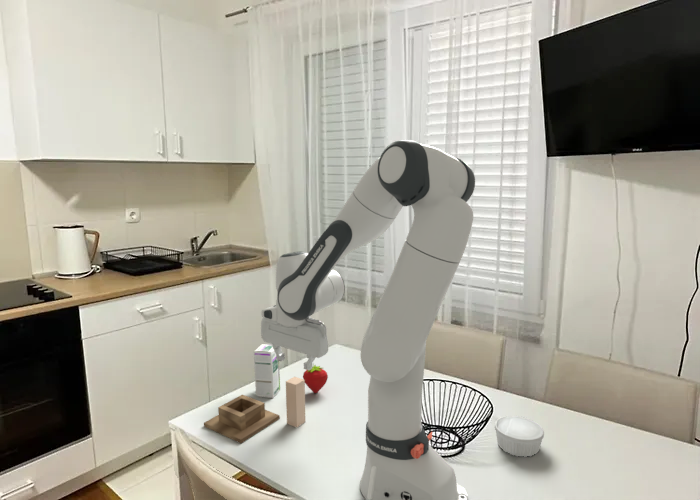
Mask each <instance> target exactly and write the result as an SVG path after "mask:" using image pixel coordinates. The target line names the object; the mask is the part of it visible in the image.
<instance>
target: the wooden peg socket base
mask: <svg viewBox="0 0 700 500" xmlns="http://www.w3.org/2000/svg"><path fill="white" fill-rule="evenodd" d="M265 407H266V405H265V402H262V400H257V399H255V398H252V397H251V396H247V395H244V394H241V395H239V396H236V397H235V398H233V399H231V400H229V401H228V402H226V403H224V404H222V405H220V406H218V407H217V408H218V409H217V410H218V415H215V416H213V417H212V418H210V419H208V420H207V421H205V422H203V427H204V428H206V429H209V430H211V431H213V432H215V433H217V434H219V435H222V436H224V437H226V438H229V439H231V440H233V441H235V442H237V443H238V444H243V443H244V442H246V441H248V440H249V439H250V438H252V437H254V436H255V435H257V434H258V433H260V432H261V431H263V430H265V429H266V428H267V427H270V426H271V425H272V424H273V423H276V422H277V421H279V420H280V418H281V416H280V414H277V413H275V412H272V411H270V410H267V409H266V408H265Z"/></svg>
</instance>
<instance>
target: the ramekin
mask: <svg viewBox="0 0 700 500" xmlns="http://www.w3.org/2000/svg"><path fill="white" fill-rule="evenodd" d="M494 430H495V433H496V434H495V436H496V441H497V444H498V447H500V448H502V449H503V450H502V449H501V450H502V451H504V452H505V451H506V452H508V453H510V454H509V455H511V454H512V455H511V456H514V455H516V456H515V457H518V456H524V457H523V458H528V457H527V456H530V457H533V456H534V454H535V455H536V454H537V453H538V452H539V450H540V448H541V444H542V441H543V439H544V436H545V430H544V428H543V427H542V425H541V424H539V423H538V422H536V421H534V420H532V419H531V418H527V417H525V416H519V415H505V416H501V417H499V418H497V419H496V421H494ZM506 452H505V453H506ZM508 453H507V454H508ZM532 455H533V456H532Z"/></svg>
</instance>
